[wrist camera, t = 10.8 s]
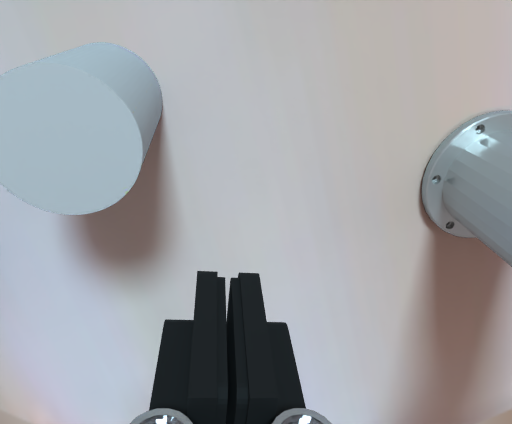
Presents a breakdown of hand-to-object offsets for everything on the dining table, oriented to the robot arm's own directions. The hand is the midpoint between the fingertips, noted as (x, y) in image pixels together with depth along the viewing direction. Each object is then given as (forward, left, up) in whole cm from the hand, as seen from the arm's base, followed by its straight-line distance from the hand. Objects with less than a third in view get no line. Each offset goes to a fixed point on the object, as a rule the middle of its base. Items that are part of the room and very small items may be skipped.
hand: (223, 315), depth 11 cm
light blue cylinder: (+8, -1, -25) cm, 26 cm away
